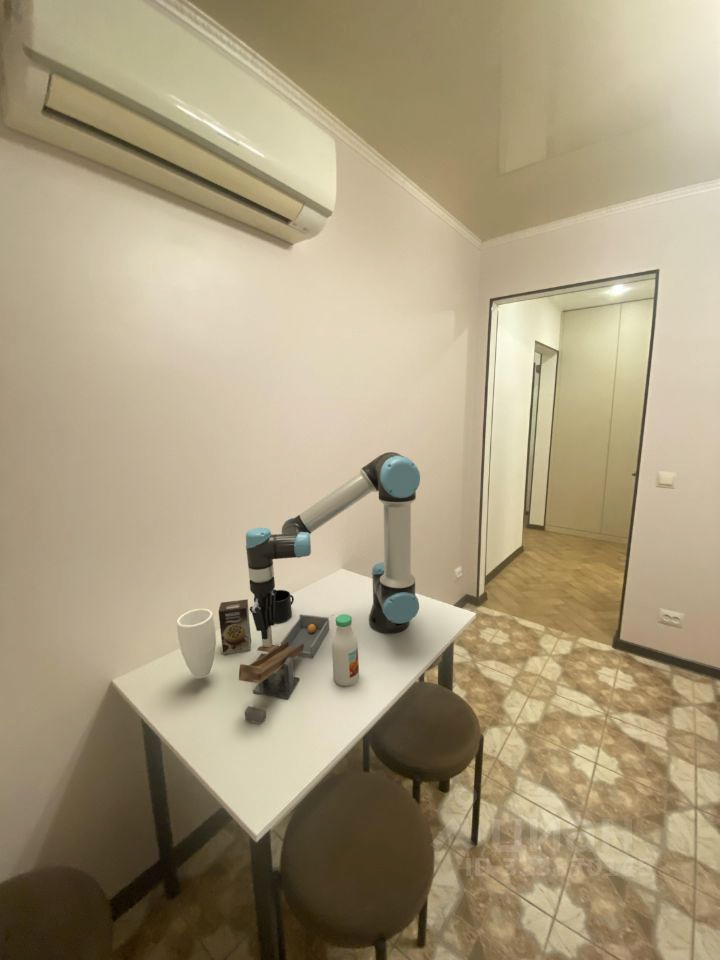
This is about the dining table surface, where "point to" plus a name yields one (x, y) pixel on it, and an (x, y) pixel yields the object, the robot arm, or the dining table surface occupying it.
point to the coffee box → (235, 626)
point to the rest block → (255, 714)
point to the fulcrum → (279, 682)
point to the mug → (283, 606)
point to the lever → (268, 662)
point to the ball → (311, 628)
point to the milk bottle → (345, 652)
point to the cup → (197, 640)
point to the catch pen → (307, 634)
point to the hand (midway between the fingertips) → (267, 645)
